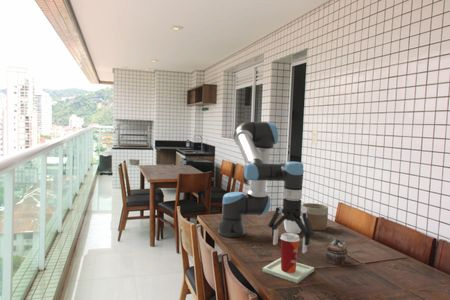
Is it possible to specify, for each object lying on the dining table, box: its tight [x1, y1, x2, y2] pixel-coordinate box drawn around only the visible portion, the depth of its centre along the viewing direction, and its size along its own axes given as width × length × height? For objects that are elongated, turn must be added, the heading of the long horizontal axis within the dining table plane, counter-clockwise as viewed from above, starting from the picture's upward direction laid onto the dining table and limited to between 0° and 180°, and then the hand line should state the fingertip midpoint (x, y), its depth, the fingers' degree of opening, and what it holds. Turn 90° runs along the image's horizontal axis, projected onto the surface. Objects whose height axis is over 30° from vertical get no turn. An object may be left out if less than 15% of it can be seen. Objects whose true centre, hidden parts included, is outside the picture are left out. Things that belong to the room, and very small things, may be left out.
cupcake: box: [325, 238, 348, 266], centre depth 158 cm, size 10×10×10 cm
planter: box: [301, 202, 329, 232], centre depth 214 cm, size 16×16×14 cm
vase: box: [283, 203, 307, 235], centre depth 202 cm, size 14×14×25 cm
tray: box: [262, 257, 315, 284], centre depth 144 cm, size 16×16×2 cm
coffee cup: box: [279, 232, 301, 273], centre depth 144 cm, size 8×8×15 cm
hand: (289, 248), depth 144 cm, fingers open, 13 cm apart
